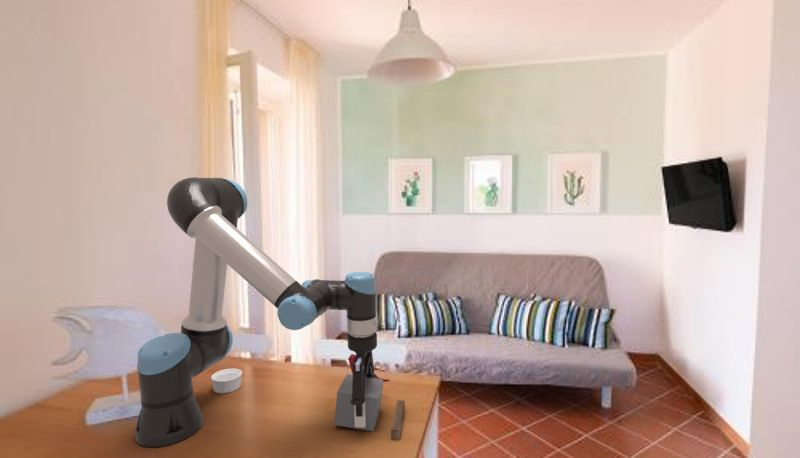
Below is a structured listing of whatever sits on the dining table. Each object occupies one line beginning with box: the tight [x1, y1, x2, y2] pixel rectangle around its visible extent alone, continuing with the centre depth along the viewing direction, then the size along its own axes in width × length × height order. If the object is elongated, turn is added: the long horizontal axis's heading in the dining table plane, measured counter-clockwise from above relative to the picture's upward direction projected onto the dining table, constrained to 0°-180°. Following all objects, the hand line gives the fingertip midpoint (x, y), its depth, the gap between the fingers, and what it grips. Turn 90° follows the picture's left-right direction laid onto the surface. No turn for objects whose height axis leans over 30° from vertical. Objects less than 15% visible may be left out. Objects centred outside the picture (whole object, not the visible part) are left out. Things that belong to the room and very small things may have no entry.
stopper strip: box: [390, 399, 406, 441], centre depth 108 cm, size 2×14×2 cm, turn 174°
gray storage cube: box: [333, 373, 384, 432], centre depth 110 cm, size 10×10×9 cm
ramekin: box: [210, 368, 243, 394], centre depth 130 cm, size 9×9×4 cm
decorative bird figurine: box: [347, 353, 391, 383], centre depth 125 cm, size 3×18×10 cm, turn 49°
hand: (364, 414), depth 110 cm, fingers open, 11 cm apart
